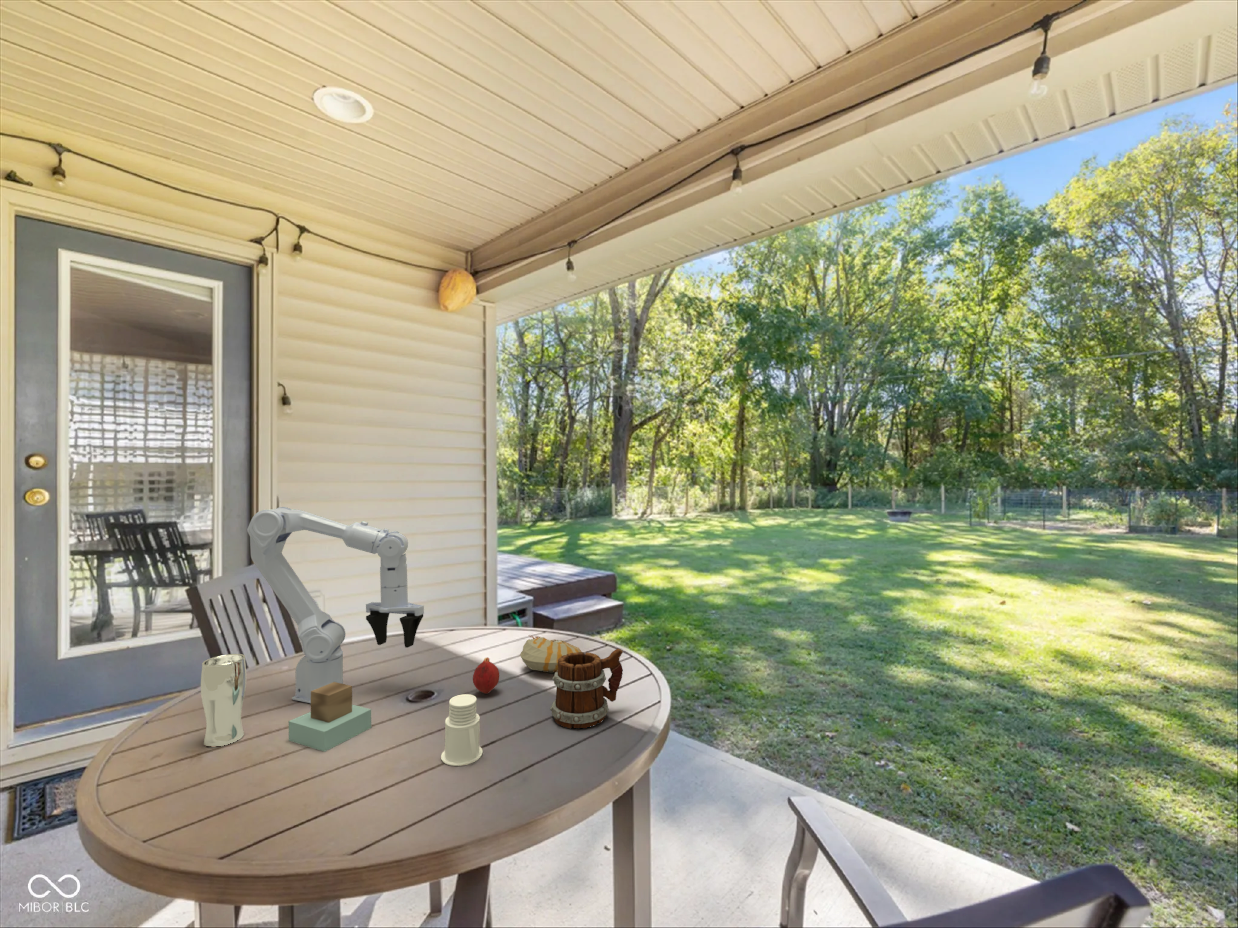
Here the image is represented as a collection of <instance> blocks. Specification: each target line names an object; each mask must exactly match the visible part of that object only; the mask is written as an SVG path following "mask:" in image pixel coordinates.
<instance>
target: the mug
mask: <svg viewBox="0 0 1238 928" xmlns="http://www.w3.org/2000/svg"><path fill="white" fill-rule="evenodd" d="M622 655H623V650H622V649H620V648H616V649H614V650H612V651H611V653H609V655H608V656H606V657H605V658H601V657H600V656H599V655H598V654H595V653H593V652H587V651H586V652H585V653H584V651H582V652H575V653H569V654H567V655H563V656H561V657H560V658H559V659H558V670H557V671H556V672H554V676H553V677H552V681H553V684H554V685H555V686H556V693H555V699H554V701H553V702H552V704H551V706H550V707H549V711H551V716H553V720H554V719H555V720H554V722H555V723H556V725H558V724H559V725H558V726H560V725H561V727H562V726H563V727H562V728H565V727H567V728H566V729H570V728H571V729H572V728H573V729H574V728H585V729H588V728H587V727H590V726H593V725H596V724H597V723H600V722H601V721H602V720H604V721H605V719H606V717H607V713H608V712H609V709H610V708H609V704H608V701H610V702H613V703H614V701H616V699H617V692H618V690H619V688H620V685H621V682H622V680H623V675H624V674H623V672H624V669H623V665H622V663H621V662H620V657H621V656H622ZM605 669H609V670H610V674H611V675H610V677H609V678H608V679H607V677H606V673H605ZM606 680H607V682H608V688H607V687H606V686H604V683H605V682H606ZM607 699H608V700H607ZM605 716H606V717H605ZM604 718H605V719H604ZM601 723H602V722H601ZM601 723H600V724H601ZM597 725H598V724H597ZM597 725H596V726H597Z"/></svg>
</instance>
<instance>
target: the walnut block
mask: <svg viewBox="0 0 1238 928" xmlns="http://www.w3.org/2000/svg"><path fill="white" fill-rule="evenodd" d="M352 705H353V686H352V685H349V684H345V683H343V684H341V683H337V682H333V683H330V684H328V685H325V686H323V687H320V688H318V689H315V690H313V691H311V703H310V712H311V718H313V719H317V720H321V721H324V722H328V723H329V722H331V721H333V720H336V719H338V718H340V717H342V716H344V715H346V714H348V713H351V712H352Z"/></svg>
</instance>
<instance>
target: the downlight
mask: <svg viewBox="0 0 1238 928" xmlns="http://www.w3.org/2000/svg"><path fill="white" fill-rule="evenodd" d="M448 706H449V707H448V716H447V717H446V718H445V721H444V726H445V727H444V728H445V729H444V731H445V732H444V750H443V751H442V752H441V754H440V755H441V756H440V759H441V761H442V763H443V764H446V765H447V766H451V767H460V766H461V767H462V766H467V765H470V764H473V763H475V762H477V761H478V760H480V759H481V757H482V756H483V748H482V747H481V746H480V728H481V727H480V725H481V724H480V723H481V722H480V719H481V718H480V714H478V713H477V697H476V696H475V695H473V694H470V693H469V694H468V693H466V694H465V693H464V694H458V695H455V696H453V697H451V698H450V699H449V704H448Z"/></svg>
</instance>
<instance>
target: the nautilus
mask: <svg viewBox="0 0 1238 928" xmlns="http://www.w3.org/2000/svg"><path fill="white" fill-rule="evenodd" d="M529 638H531V639H526V641H525V643H524V645H523V646H522V651H520V654H519V655H520V658H521V661H522V662H523V663H524V665H525V666H526V667H527V668H528V669H530V670H532V671H538V672H539V671H540V672H542V671H543V673H547V674H548V673H549V674H551V673H556V671H557V670H558V659H559V658H560V657H561V656H563V655H567V654H569V653H575V652H583V651H582V650H581V649H580V647H578V646H576V645H573V644H570V643H569V642H567V641H564V640H561V639H560V640H559V639H548V638H546V637H544V636H543V637H541V636H537V635H536V636H533V635H529Z"/></svg>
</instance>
